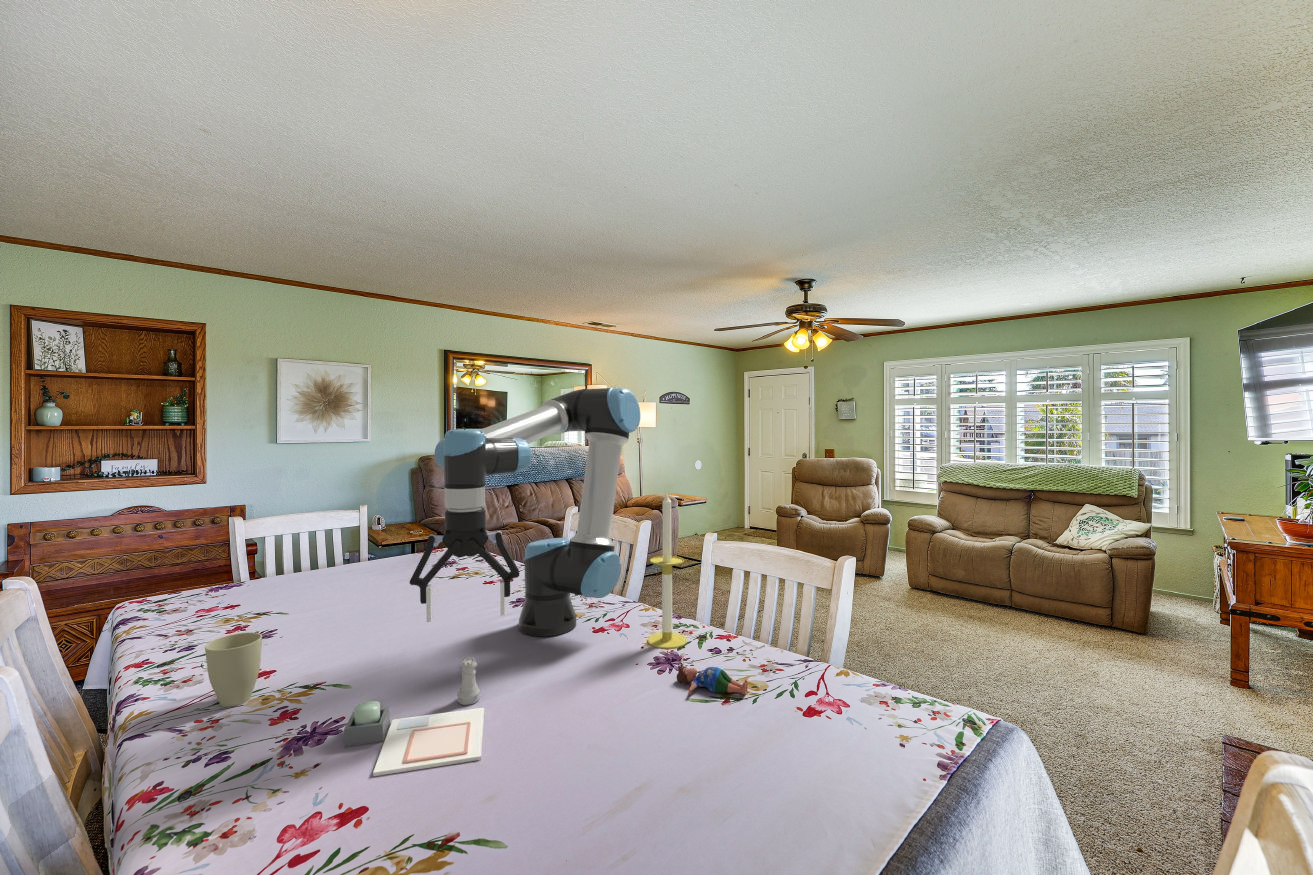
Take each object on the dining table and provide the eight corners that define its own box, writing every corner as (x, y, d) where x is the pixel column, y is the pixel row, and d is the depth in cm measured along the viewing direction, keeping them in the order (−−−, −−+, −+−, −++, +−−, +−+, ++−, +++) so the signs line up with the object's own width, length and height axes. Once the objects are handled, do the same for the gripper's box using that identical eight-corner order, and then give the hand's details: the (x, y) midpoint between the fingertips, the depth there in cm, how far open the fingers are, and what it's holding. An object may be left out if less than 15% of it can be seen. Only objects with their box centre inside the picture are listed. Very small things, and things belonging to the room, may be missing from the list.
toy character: (737, 687, 107) (665, 672, 113) (737, 711, 107) (665, 695, 114) (754, 661, 119) (687, 649, 125) (753, 683, 119) (687, 670, 125)
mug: (278, 691, 115) (277, 633, 114) (227, 715, 106) (226, 652, 105) (241, 683, 118) (239, 627, 118) (188, 706, 109) (186, 645, 109)
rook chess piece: (460, 695, 113) (459, 655, 113) (483, 694, 114) (482, 654, 113) (454, 706, 109) (453, 665, 109) (478, 705, 109) (477, 664, 109)
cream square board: (484, 710, 107) (484, 705, 107) (480, 759, 92) (480, 754, 92) (392, 722, 103) (392, 717, 103) (373, 776, 88) (373, 770, 88)
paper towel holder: (695, 640, 141) (695, 490, 140) (668, 652, 134) (668, 495, 132) (665, 629, 148) (665, 487, 146) (638, 641, 140) (638, 491, 139)
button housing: (389, 723, 103) (389, 706, 103) (382, 741, 97) (382, 724, 97) (353, 727, 101) (353, 711, 101) (344, 746, 96) (343, 729, 95)
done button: (382, 718, 102) (382, 699, 101) (377, 730, 98) (377, 710, 98) (357, 721, 101) (357, 702, 100) (352, 733, 97) (351, 713, 97)
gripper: (529, 503, 117) (530, 604, 118) (399, 508, 110) (401, 615, 111) (531, 508, 110) (532, 616, 110) (392, 514, 103) (394, 629, 104)
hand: (466, 616), depth 111 cm, fingers open, 13 cm apart
